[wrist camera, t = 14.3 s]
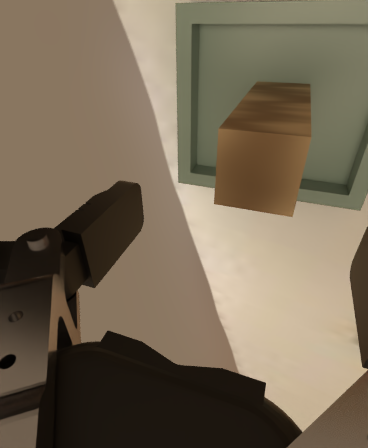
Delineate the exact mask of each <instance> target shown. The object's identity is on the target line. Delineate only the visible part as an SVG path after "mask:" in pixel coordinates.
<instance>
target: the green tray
mask: <svg viewBox="0 0 368 448" xmlns="http://www.w3.org/2000/svg"><path fill="white" fill-rule="evenodd" d="M176 62H177V124H178V183H184V184H191V185H197V186H204V187H210V188H215V180H216V162H217V145H218V128H219V127H220V126H221V125H222V124H223V122H224V121H225V120H226V119H227V117H228V116H229V115H230V114H231V113H232V111H233V110H234V109H235V108H236V106H237V105H238V104H239V103H240V102H241V100H242V99H243V98H244V97H245V96H246V94H247V93H248V92H249V91H250V89H251V88H252V87H253V86H254V85H255V83H256V82H257V81H259V82H280V83H301V84H310V92H311V136H312V137H311V142H310V146H309V150H308V154H307V158H306V162H305V167H304V171H303V175H302V179H301V183H300V188H299V192H298V196H297V200H296V201H301V202H307V203H314V204H320V205H327V206H333V207H340V208H346V209H353V210H359V211H360V210H361V208H362V205H363V203H364V200H365V198H366V195H367V193H368V0H311V1H261V2H211V3H176Z"/></svg>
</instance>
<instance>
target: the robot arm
mask: <svg viewBox="0 0 368 448" xmlns="http://www.w3.org/2000/svg"><path fill="white" fill-rule="evenodd" d="M143 222H144V215H143V205H142V195H141V187H140V185H139V184H138V183H133V182H126V181H118V182H117V183H116V184H114V185H113V186H112V187H111V188H110V189H108V190H107V191H104V192H101V193H99V194H97V195H95V196H93V197H92V198H91V199H89V200H88V201H87V202H86V204H83V205H82V206H81V207H80V208H79V210H76V211H75V212H74V213H72V214H71V215H70V216H69V217H67V218H66V219H65V220H64V221H63V222H61V223H60V224H59V225H58V226H56V227H55V228H38V229H34V230H31V231H28V232H26V233H24V234H23V235H21V236H20V237H18V239H17V240H16V241H0V448H368V371H367V372H366V373H364V374H363V375H362V376H361V377H360V378H359V379H358V380H357V381H356V382H355V383H354V384H353V385H352V386H351V387H350V388H349V389H348V390H347V391H346V392H345V393H344V394H342V395H341V396H340V397H339V398H338V399H337V400H336V401H335V402H334V403H333V404H332V405H331V406H330V407H329V408H328V409H327V410H326V411H325V412H324V413H323V414H322V415H320V416H319V417H318V418H317V419H316V420H315V421H314V422H313V423H312V424H311V425H310V426H309V427H308V428H307V429H306V430H305V431H304V432H302V431H301V430H300V429H299V427H298V426H297V425H296V424H295V423H294V421H293V420H292V419H291V418H290V417H289V416H288V415H287V414H286V413H285V412H284V411H283V410H282V409H280V408H279V407H278V406H277V405H275V404H274V403H273V402H271V401H270V400H268V399H267V398H265V397H264V394H265V387H266V383H265V382H262V381H259V380H256V379H253V378H250V377H247V376H244V375H241V374H238V373H235V372H231V371H229V370H225V369H223V368H210V367H197V366H183V365H177V364H175V363H173V362H171V361H170V360H168V359H167V358H166V357H164V356H163V355H161V354H160V353H158V352H157V351H155V350H154V349H152V348H151V347H149V346H148V345H146V344H145V343H143V342H141V341H138V340H135V339H132V338H129V337H126V336H123V335H120V334H117V333H114V332H111V331H107V332H106V334H105V335H104V337H103V339H102V340H101V342H86V343H81V332H80V302H79V292H78V289H79V288H80V286H81V285H86V286H89V287H92V288H95V287H96V286H97V285H98V283H99V282H100V281H101V280H102V279H103V277H104V276H105V275H106V274H107V272H108V271H109V270H110V269H111V267H112V266H113V265H114V264H115V262H116V261H117V260H118V259H119V257H120V256H121V255H122V254H123V252H124V251H125V250H126V249H127V247H128V246H129V245H130V244H131V242H132V241H133V240H134V239H135V237H136V236H137V235H138V233H139V232H140V231H141V229H142V226H143ZM350 282H351V290H352V297H353V304H354V311H355V318H356V325H357V332H358V340H359V347H360V354H361V361H362V367H363V368H367V369H368V227H367V229H366V231H365V233H364V235H363V238H362V240H361V242H360V245H359V247H358V249H357V252H356V254H355V256H354V259H353V261H352V265H351V270H350Z"/></svg>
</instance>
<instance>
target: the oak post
mask: <svg viewBox="0 0 368 448" xmlns="http://www.w3.org/2000/svg"><path fill="white" fill-rule="evenodd" d="M311 137H312V136H311V92H310V84H301V83H280V82H259V81H257V82H256V83H255V85H254V86H253V87H252V88H251V89H250V91H249V92H248V93H247V94H246V96H245V97H244V98H243V99H242V100H241V102H240V103H239V104H238V105H237V106H236V108H235V109H234V110H233V111H232V113H231V114H230V115H229V116H228V117H227V119H226V120H225V121H224V122H223V124H222V125H221V126H220V127H219V128H218V145H217V162H216V180H215V197H214V204H217V205H223V206H229V207H235V208H242V209H248V210H254V211H260V212H266V213H272V214H278V215H284V216H290V217H293V213H294V208H295V204H296V200H297V196H298V192H299V188H300V183H301V179H302V175H303V171H304V167H305V162H306V158H307V154H308V150H309V146H310V142H311Z"/></svg>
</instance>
